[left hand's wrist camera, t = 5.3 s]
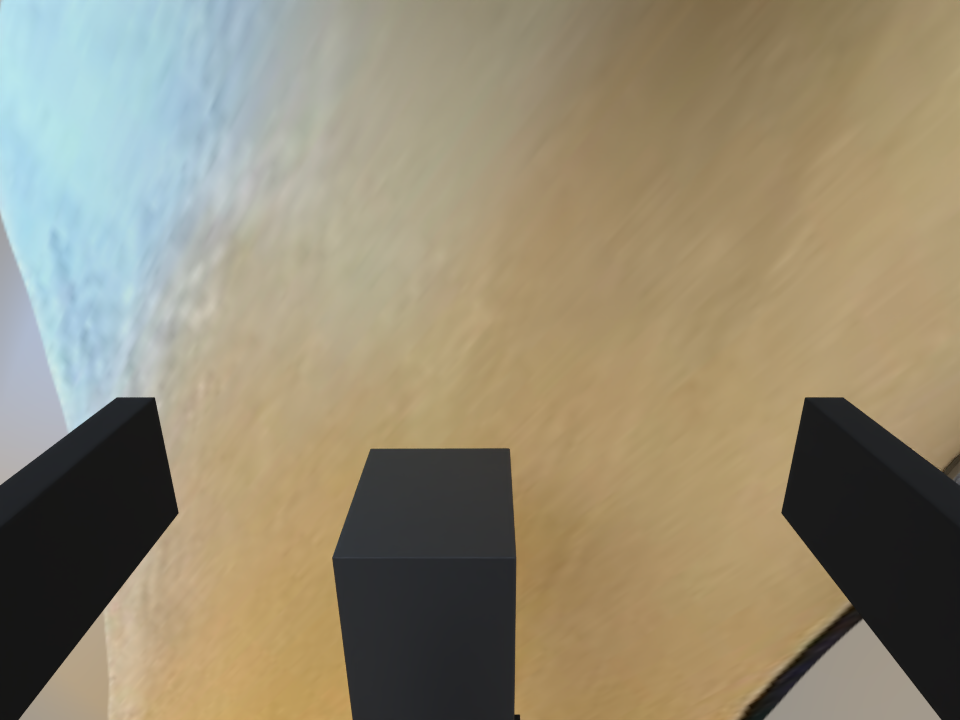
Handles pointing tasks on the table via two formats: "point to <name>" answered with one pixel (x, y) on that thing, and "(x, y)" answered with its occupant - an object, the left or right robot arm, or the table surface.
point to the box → (430, 586)
